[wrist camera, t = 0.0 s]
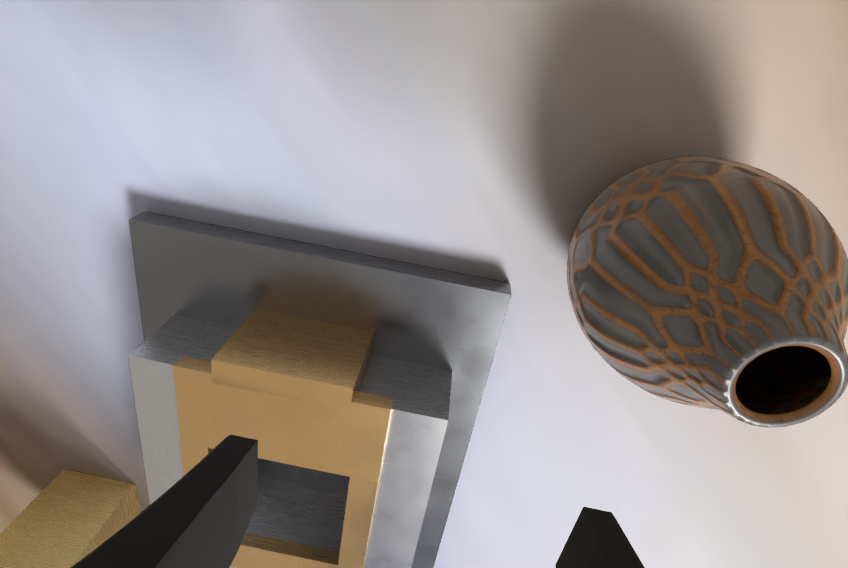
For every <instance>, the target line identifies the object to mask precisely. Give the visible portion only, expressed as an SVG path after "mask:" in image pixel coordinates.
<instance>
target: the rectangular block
mask: <svg viewBox="0 0 848 568" xmlns="http://www.w3.org/2000/svg"><path fill="white" fill-rule="evenodd" d="M139 514H140V509H139V503H138V497H137V491H136V485H135V484H133V483H128V482H123V481H119V480H114V479H109V478H104V477H99V476H94V475H90V474H85V473H80V472H75V471H70V470H65V469H64V470H63V471H62V472H61V473H60V474H59V475H58V476H57V477H56V478H55V479H54V480H53V481H52V482H51V483H50V484H49V485H48V486H47V487H46V488H45V489H44V490H43V491H42V492H41V493H40V494H39V495H38V496H37V497H36V498H35V499H34V500H33V501H32V502H31V503H30V504H29V505H28V506H27V507H26V508H25V509H24V510H23V511H22V512H21V513H20V514H19V515H18V516H17V517H16V518H15V519H14V520H13V521H12V522H11V523H10V525H9V526H8V527H7V528H6V529H5V530H4V531H3V532H2V533H1V534H0V568H70V567H72V566H73V565H74V564H76V563H77V562H79V561H80V560H81V559H83V558H84V557H85V556H87V555H88V554H89V553H91V552H92V551H93V550H94V549H96V548H97V547H98V546H100V545H101V544H102V543H103V542H105V541H106V540H107V539H108V538H110V537H111V536H112V535H114V534H115V533H116V532H117V531H119V530H120V529H121V528H123V527H124V526H125V525H126V524H128V523H129V522H130V521H131V520H133V519H134V518H135V517H136V516H138V515H139Z"/></svg>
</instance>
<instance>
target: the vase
mask: <svg viewBox="0 0 848 568" xmlns="http://www.w3.org/2000/svg"><path fill="white" fill-rule="evenodd" d="M567 283H568V289H569V295H570V299H571V303H572V306H573V310H574V313H575V315H576V318H577V320H578V322H579V324H580V327H581V329H582V331H583V332H584V334H585V336H586V337H587V339H588V340H589V342H590V343H591V344H592V346H593V347H594V349H595V350H596V351H597V352H598V353H599V354H600V355H601V357H602V358H603V359H604V360H605V361H606V362H607V363H608V364H609V365H610V366H612V367H613V368H614V369H615V370H616V371H617V372H618V373H620V374H621V375H622V376H624V377H625V378H626V379H628V380H629V381H630V382H632V383H633V384H635V385H637V386H638V387H640V388H642V389H644V390H645V391H647V392H649V393H652V394H654V395H656V396H659V397H661V398H664V399H667V400H670V401H673V402H677V403H681V404H686V405H691V406H696V407H702V408H709V409H717V410H722V411H723V412H725V413H727V414H729V415H731V416H733V417H734V418H736V419H738V420H740V421H743V422H745V423H748V424H751V425H755V426H760V427H784V426H790V425H794V424H798V423H801V422H804V421H807V420H809V419H811V418H813V417H815V416H817V415H819V414H821V413H822V412H824V411H825V410H827V409H828V408H829V407H830V406H832V405H833V404H834V403H835V402H836V401H837V400H838V399H839V397H840V396H841V395H842V393H843V392H844V390H845V388H846V386H847V384H848V356H847V353H846V349H845V346H844V343H843V340H844V337H845V334H846V330H847V326H848V259H847V256H846V252H845V250H844V248H843V246H842V244H841V242H840V240H839V238H838V236H837V234H836V233H835V231H834V229H833V228H832V226H831V225H830V223H829V222H828V221H827V219H826V218H825V217H824V215H823V214H822V213H821V212H820V211H819V210H818V209H817V207H816V206H815V205H814V204H813V203H812V202H811V201H810V200H809V199H807V198H806V197H805V196H804V195H803V194H802V193H801V192H799V191H798V190H797V189H796V188H794V187H793V186H791V185H790V184H788V183H787V182H785V181H783V180H781V179H780V178H778V177H776V176H774V175H772V174H770V173H768V172H765V171H763V170H761V169H758V168H755V167H753V166H750V165H747V164H744V163H740V162H736V161H732V160H727V159H722V158H716V157H680V158H673V159H668V160H663V161H659V162H656V163H652V164H649V165H646V166H643V167H641V168H638V169H636V170H634V171H632V172H630V173H628V174H626V175H624V176H623V177H621V178H619V179H618V180H616V181H615V182H614V183H612V184H611V185H610V186H608V187H607V188H606V189H605V190H604V191H603V192H602V193H601V194H599V195H598V196H597V198H596V199H595V200H594V201H593V202H592V203H591V204H590V206H589V207H588V208H587V210H586V211H585V213H584V214H583V216H582V218H581V219H580V221H579V223H578V225H577V228H576V230H575V232H574V235H573V237H572V240H571V244H570V248H569V253H568V261H567Z"/></svg>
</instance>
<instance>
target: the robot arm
mask: <svg viewBox="0 0 848 568" xmlns="http://www.w3.org/2000/svg"><path fill="white" fill-rule="evenodd" d="M257 489H258V440H255V439H250V438H245V437H241V436H236V435H229V436H227V437H226V438H225V439H224V440H223V441H221V442H220V443H219V444H218V445H217V446H216V447H215V448H214V449H213V450H212V451H211V452H210V453H209V454H208V455H206V456H205V457H204V458H203V459H202V460H201V461H200V462H199V463H198V464H197V465H195V466H194V467H193V468H192V469H191V470H190V471H189V472H188V473H187V474H185V475H184V476H183V477H182V478H181V479H180V480H179V481H178V482H176V483H175V484H174V485H173V486H172V487H171V488H170V489H168V490H167V491H166V492H165V493H164V494H162V495H161V496H160V497H159V498H158V499H157V500H155V501H154V502H153V503H152V504H151V505H149V506H148V507H147V508H146V509H145V510H144V511H142V512H141V513H140V514H139V515H138V516H136V517H135V518H134V519H133V520H131V521H130V522H129V523H128V524H126V525H125V526H124V527H123V528H121V529H120V530H119V531H117V532H116V533H115V534H114V535H112V536H111V537H110V538H108V539H107V540H106V541H105V542H103V543H102V544H101V545H100V546H98V547H97V548H96V549H94V550H93V551H92V552H91V553H89V554H88V555H87V556H85V557H84V558H83V559H81V560H80V561H79V562H77V563H76V564H74V565H73V566H72V567H70V568H229V567H230V565H231V563H232V562H233V560H234V558H235V556H236V554H237V552H238V550H239V547H240V545H241V542H242V540H243V538H244V535H245V533H246V530H247V528H248V525H249V523H250V520H251V518H252V515H253V513H254V510H255V508H256V505H257ZM556 568H644V566H643V564H642V563H641V561H640V559H639V558H638V556H637V554H636V553H635V551H634V549H633V548H632V546H631V544H630V542H629V541H628V539H627V537H626V536H625V534H624V532H623V531H622V529H621V527H620V525H619V524H618V522H617V520H616V519H615V517H614V516H613V514H612V513H611V512H606V511H601V510H597V509H592V508H587V507H583V509H582V511H581V513H580V515H579V517H578V519H577V522H576V524H575V526H574V528H573V530H572V532H571V534H570V536H569V538H568V540H567V542H566V544H565V547H564V549H563V551H562V553H561V555H560V557H559V559H558V561H557V563H556Z"/></svg>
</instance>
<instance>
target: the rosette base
mask: <svg viewBox="0 0 848 568" xmlns="http://www.w3.org/2000/svg"><path fill="white" fill-rule="evenodd" d="M129 224H130V232H131V240H132V248H133V256H134V264H135V272H136V279H137V287H138V295H139V303H140V311H141V319H142V327H143V335H144V342H143V343H142V344H141V345H139V346H138V347H137V348H136V349H135V350H134V351H133V352H131V353H130V354H129V355H128V360H129V367H130V374H131V380H132V387H133V394H134V401H135V407H136V414H137V421H138V428H139V434H140V441H141V448H142V455H143V461H144V468H145V475H146V482H147V488H148V495H149V502H150V505H151V504H152V503H153V502H154V501H155V500H157V499H158V498H159V497H160V496H161V495H162V494H164V493H165V492H166V491H167V490H168V489H170V488H171V487H172V486H173V485H174V484H175V483H176V482H178V481H179V480H180V479H181V478H182V477H183V476H184V475H185V474H187V473H188V472H189V471H190V470H191V469H192V468H193V467H194V466H195V465H197V464H198V463H199V462H200V461H201V460H202V459H203V458H204V457H205V456H206V455H208V454H209V453H210V452H211V451H212V450H213V449H214V448H215V447H216V446H217V445H218V444H219V443H220V442H221V441H223V440H224V439H225V438H226V437H227V436H229V435H236V436H241V437H245V438H250V439H255V440H258V489H257V505H256V508H255V510H254V513H253V515H252V518H251V520H250V523H249V525H248V528H247V530H246V533H245V535H244V538H243V540H242V542H241V545H240V547H239V550H238V552H237V554H236V556H235V558H234V560H233V562H232V563H231V565H230V567H229V568H433V566H434V563H435V559H436V556H437V552H438V549H439V545H440V542H441V538H442V535H443V531H444V528H445V524H446V521H447V517H448V514H449V511H450V507H451V504H452V500H453V497H454V493H455V490H456V486H457V483H458V479H459V476H460V472H461V469H462V465H463V462H464V458H465V455H466V451H467V448H468V444H469V441H470V437H471V434H472V430H473V427H474V423H475V420H476V416H477V413H478V409H479V406H480V402H481V399H482V395H483V392H484V388H485V385H486V381H487V378H488V375H489V371H490V368H491V364H492V361H493V357H494V354H495V350H496V347H497V343H498V340H499V336H500V333H501V329H502V326H503V322H504V319H505V315H506V312H507V308H508V305H509V301H510V298H511V288H510V283H506V282H501V281H496V280H491V279H486V278H481V277H475V276H470V275H465V274H460V273H455V272H450V271H445V270H440V269H435V268H430V267H425V266H420V265H414V264H409V263H404V262H399V261H394V260H389V259H384V258H379V257H374V256H369V255H364V254H358V253H353V252H348V251H343V250H338V249H333V248H328V247H323V246H318V245H313V244H308V243H303V242H297V241H292V240H287V239H282V238H277V237H272V236H267V235H262V234H257V233H252V232H247V231H241V230H236V229H231V228H226V227H221V226H216V225H211V224H206V223H201V222H196V221H191V220H185V219H180V218H175V217H170V216H165V215H160V214H155V213H150V212H143V213H141V214H139V215H137V216H135V217H133V218H131V219H129Z"/></svg>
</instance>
